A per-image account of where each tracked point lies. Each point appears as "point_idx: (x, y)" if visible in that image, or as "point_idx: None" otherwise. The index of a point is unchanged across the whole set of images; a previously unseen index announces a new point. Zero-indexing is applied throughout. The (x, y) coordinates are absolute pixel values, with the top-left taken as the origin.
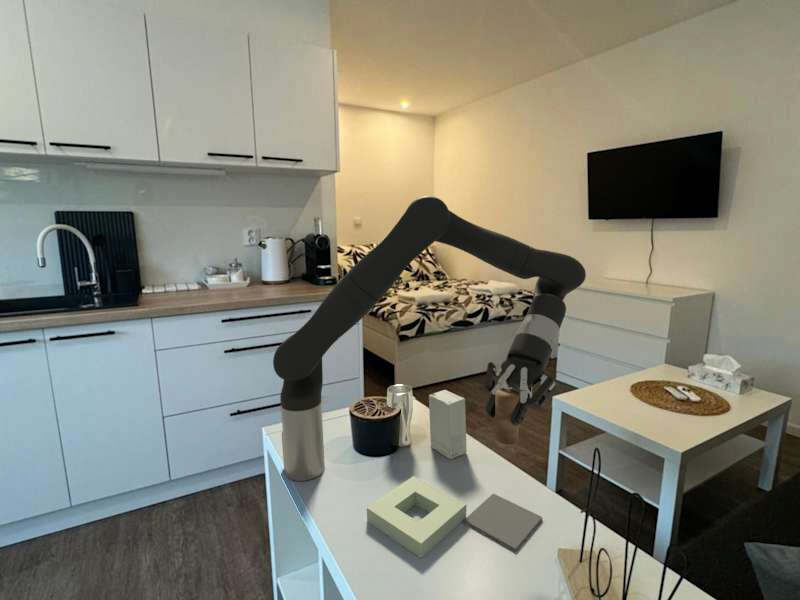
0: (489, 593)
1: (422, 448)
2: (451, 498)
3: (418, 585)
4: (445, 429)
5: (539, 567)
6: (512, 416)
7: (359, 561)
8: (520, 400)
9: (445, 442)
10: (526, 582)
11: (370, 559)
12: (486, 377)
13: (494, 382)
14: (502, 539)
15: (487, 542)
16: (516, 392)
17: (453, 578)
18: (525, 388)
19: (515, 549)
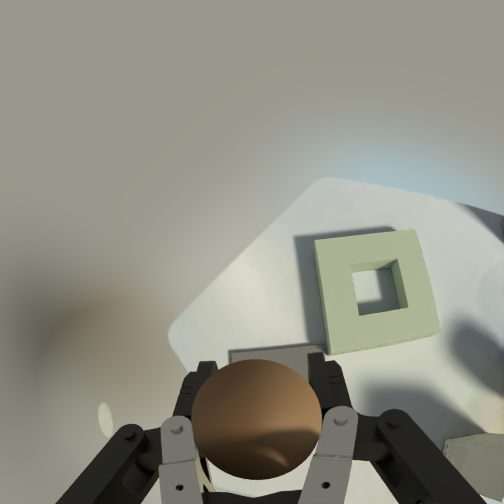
0: (220, 274)
1: (493, 417)
2: (358, 344)
3: (285, 223)
4: (485, 443)
5: (195, 351)
6: (209, 368)
7: (354, 197)
8: (187, 422)
9: (469, 440)
10: (196, 319)
11: (350, 207)
12: (435, 449)
13: (396, 485)
14: (254, 354)
15: (271, 339)
16: (229, 464)
17: (263, 258)
18: (163, 465)
19: (231, 353)
